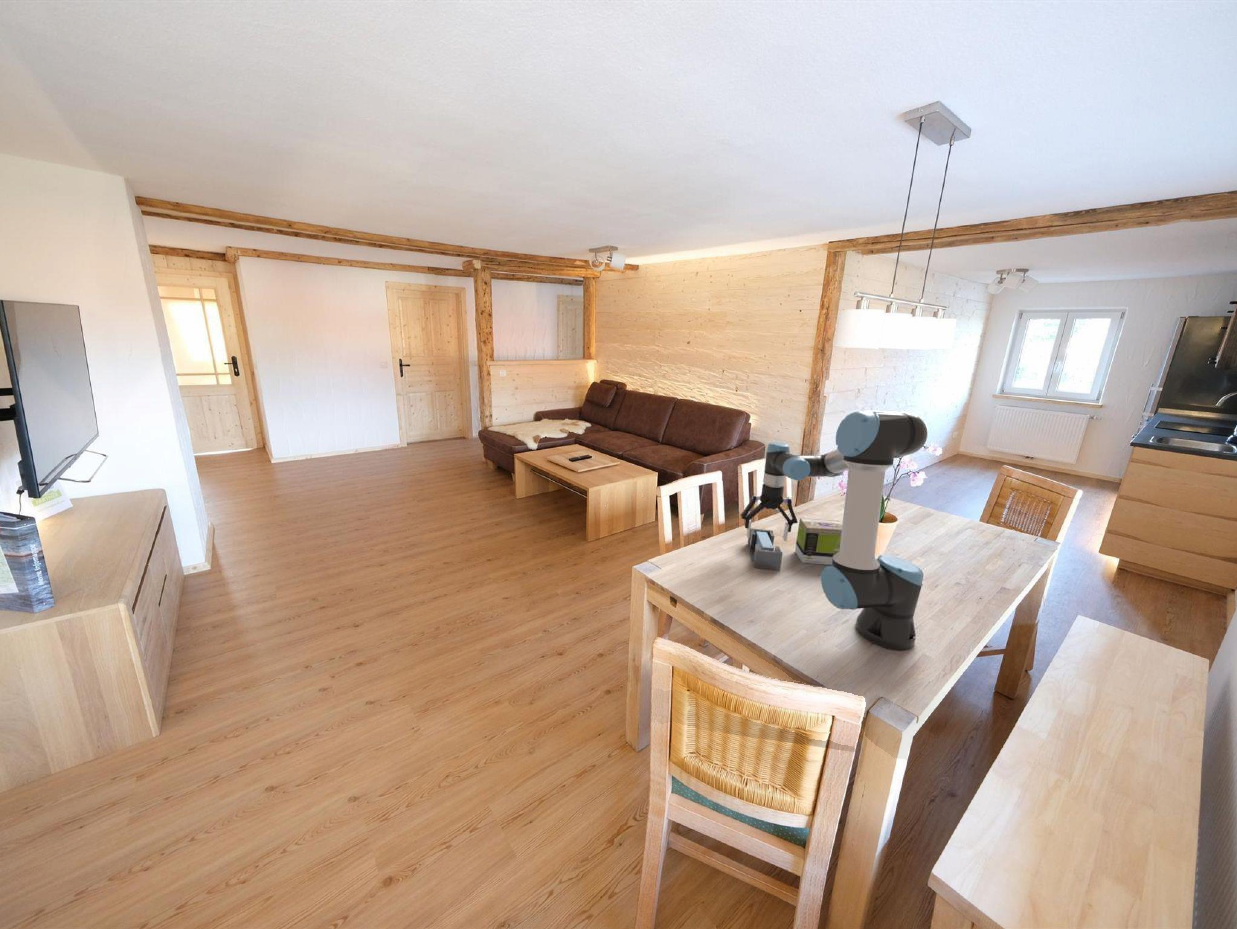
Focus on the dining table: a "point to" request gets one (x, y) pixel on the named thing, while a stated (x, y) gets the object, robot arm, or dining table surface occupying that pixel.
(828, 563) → the tea box
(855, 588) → the robot arm
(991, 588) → the dining table surface
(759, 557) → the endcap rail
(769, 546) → the blue-grey block
